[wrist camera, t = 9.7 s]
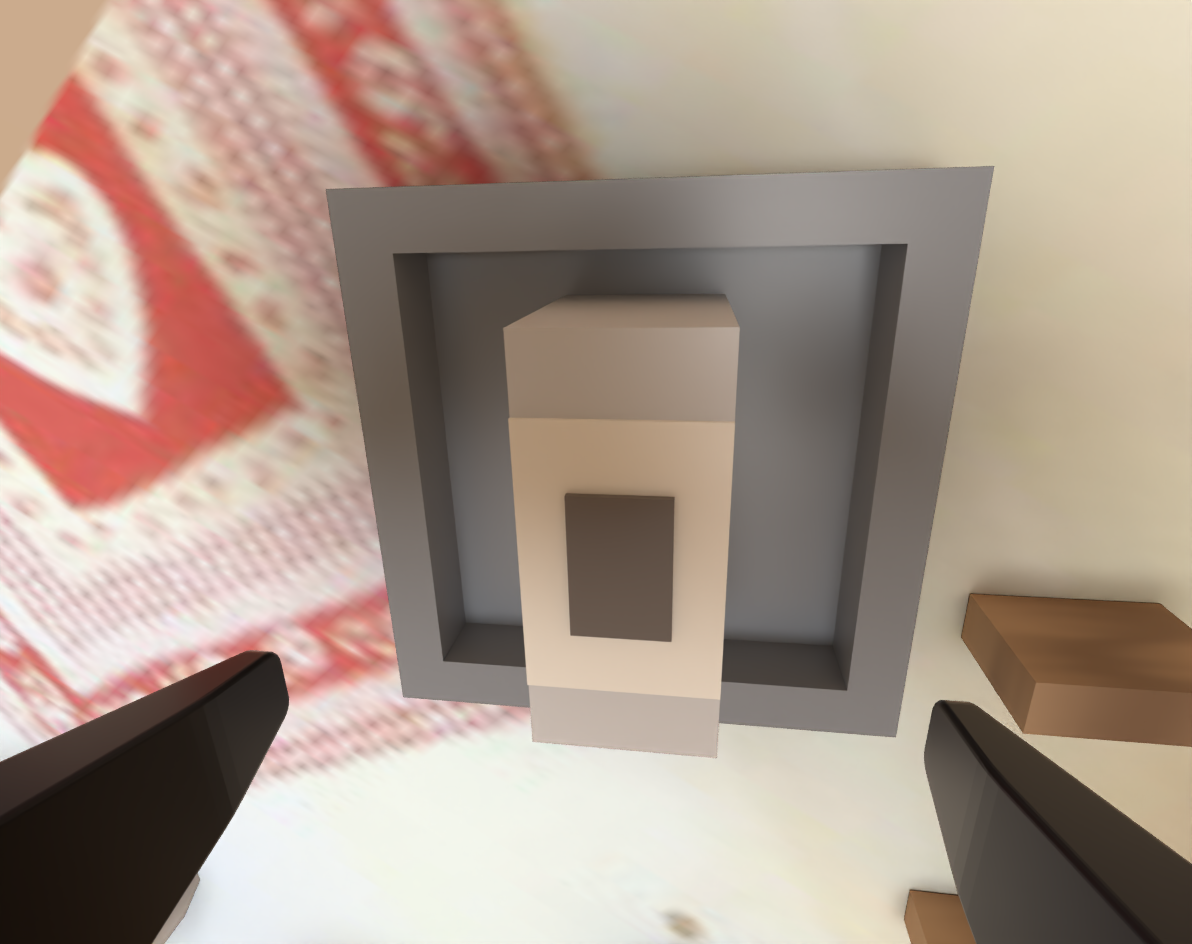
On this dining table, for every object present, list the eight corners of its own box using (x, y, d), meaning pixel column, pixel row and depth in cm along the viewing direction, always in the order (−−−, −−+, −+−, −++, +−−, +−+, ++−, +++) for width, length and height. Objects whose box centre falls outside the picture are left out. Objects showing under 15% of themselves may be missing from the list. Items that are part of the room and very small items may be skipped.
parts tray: (940, 177, 16) (994, 166, 13) (868, 667, 20) (895, 737, 18) (384, 195, 18) (325, 189, 15) (439, 638, 22) (403, 697, 20)
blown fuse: (725, 293, 16) (740, 329, 10) (711, 608, 19) (716, 767, 14) (566, 295, 17) (499, 330, 11) (577, 600, 20) (530, 749, 14)
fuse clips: (1160, 603, 18) (1278, 699, 15) (1053, 937, 23) (1121, 1073, 19) (969, 594, 19) (1036, 682, 15) (904, 919, 24) (942, 1047, 20)
